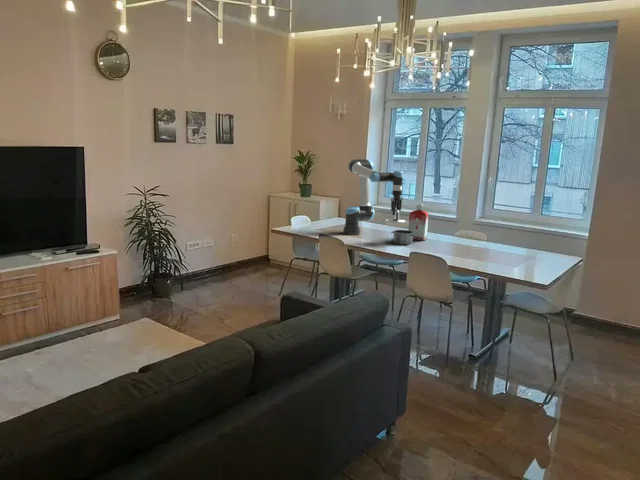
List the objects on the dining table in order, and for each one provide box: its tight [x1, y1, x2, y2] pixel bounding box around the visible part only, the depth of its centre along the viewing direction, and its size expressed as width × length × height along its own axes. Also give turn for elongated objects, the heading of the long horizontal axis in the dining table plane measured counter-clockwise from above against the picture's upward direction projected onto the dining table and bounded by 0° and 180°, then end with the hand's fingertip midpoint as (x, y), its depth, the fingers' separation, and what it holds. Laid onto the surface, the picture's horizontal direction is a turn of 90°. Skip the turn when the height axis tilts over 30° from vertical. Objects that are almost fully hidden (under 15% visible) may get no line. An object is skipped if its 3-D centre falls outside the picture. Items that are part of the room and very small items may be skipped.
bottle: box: [407, 203, 430, 242], centre depth 433 cm, size 14×10×30 cm
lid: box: [384, 209, 406, 224], centre depth 416 cm, size 16×16×10 cm
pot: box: [390, 229, 416, 246], centre depth 420 cm, size 21×16×9 cm
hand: (395, 218), depth 417 cm, fingers closed on lid, 4 cm apart
